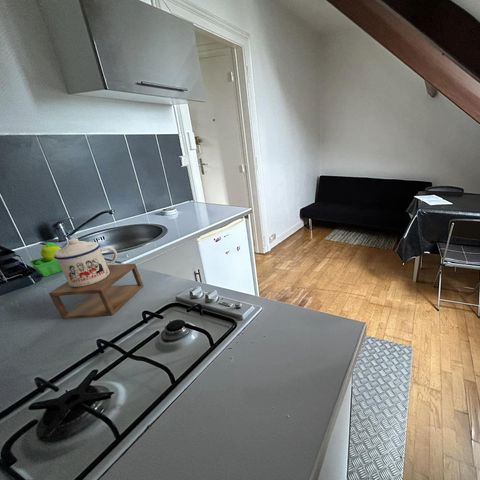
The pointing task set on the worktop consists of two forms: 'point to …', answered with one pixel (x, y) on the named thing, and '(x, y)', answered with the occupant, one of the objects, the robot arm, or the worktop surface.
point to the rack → (99, 294)
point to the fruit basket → (47, 260)
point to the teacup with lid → (83, 262)
